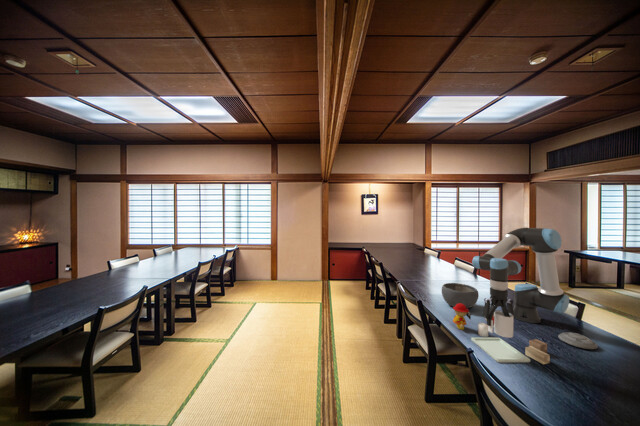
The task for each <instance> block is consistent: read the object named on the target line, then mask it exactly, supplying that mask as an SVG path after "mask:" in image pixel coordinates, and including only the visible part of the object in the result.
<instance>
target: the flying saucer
mask: <svg viewBox="0 0 640 426" xmlns="http://www.w3.org/2000/svg"><path fill="white" fill-rule="evenodd" d="M557 337H558V339H559V340H560V341H562V342H564V343H566V344H568V345H571V346H573V347H577V348H581V349H585V350H596V349H598V344H596V342H595V341H594V340H592V339H591V338H589V337H587V336H585V335H583V334H580V333H576V332H570V331H569V332H566V331H565V332H561V333H560V334H558V336H557Z"/></svg>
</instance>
